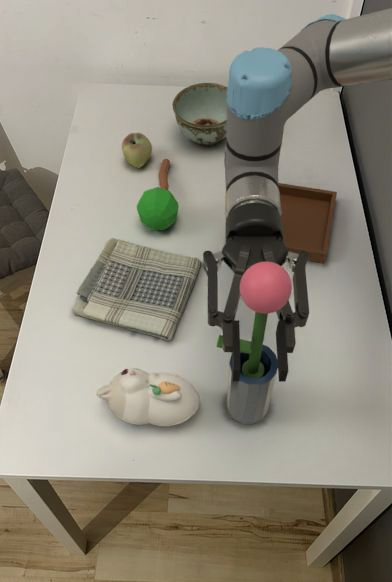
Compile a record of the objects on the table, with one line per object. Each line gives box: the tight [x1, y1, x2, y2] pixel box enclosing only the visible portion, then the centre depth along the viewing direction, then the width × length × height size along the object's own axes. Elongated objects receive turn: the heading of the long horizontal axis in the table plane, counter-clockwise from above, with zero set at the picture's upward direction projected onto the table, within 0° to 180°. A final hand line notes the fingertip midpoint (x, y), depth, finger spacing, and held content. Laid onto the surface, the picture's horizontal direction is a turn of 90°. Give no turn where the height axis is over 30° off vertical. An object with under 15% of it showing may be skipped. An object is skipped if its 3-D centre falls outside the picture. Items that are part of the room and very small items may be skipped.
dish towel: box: [72, 237, 202, 342], centre depth 86 cm, size 19×18×3 cm
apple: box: [121, 132, 153, 169], centre depth 102 cm, size 6×8×6 cm
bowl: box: [171, 82, 228, 147], centre depth 104 cm, size 14×13×8 cm
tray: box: [279, 182, 338, 264], centre depth 93 cm, size 18×16×3 cm
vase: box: [226, 344, 278, 425], centre depth 70 cm, size 6×6×14 cm
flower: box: [216, 262, 293, 379], centre depth 62 cm, size 7×5×32 cm
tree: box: [136, 157, 180, 231], centre depth 96 cm, size 8×8×20 cm
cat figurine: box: [96, 368, 201, 427], centre depth 73 cm, size 10×8×15 cm
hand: (259, 375), depth 56 cm, fingers open, 4 cm apart
